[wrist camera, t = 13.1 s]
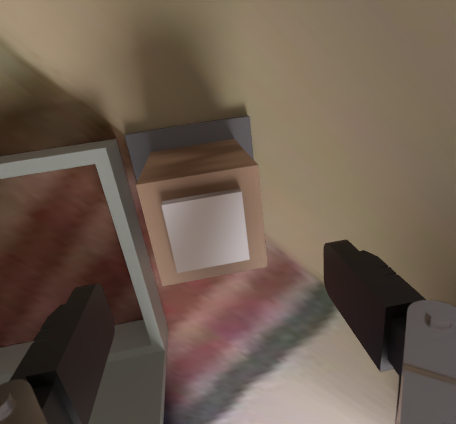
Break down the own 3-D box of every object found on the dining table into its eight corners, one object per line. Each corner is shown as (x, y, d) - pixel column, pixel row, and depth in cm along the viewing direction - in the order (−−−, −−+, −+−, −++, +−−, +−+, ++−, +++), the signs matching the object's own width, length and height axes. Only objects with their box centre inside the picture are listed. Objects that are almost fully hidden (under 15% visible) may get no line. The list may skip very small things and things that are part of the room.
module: (234, 138, 20) (260, 167, 13) (243, 214, 22) (269, 271, 16) (150, 151, 20) (134, 188, 13) (168, 227, 22) (162, 292, 15)
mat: (247, 115, 20) (249, 116, 20) (258, 222, 24) (260, 226, 23) (126, 133, 20) (124, 135, 19) (154, 241, 23) (153, 245, 22)
